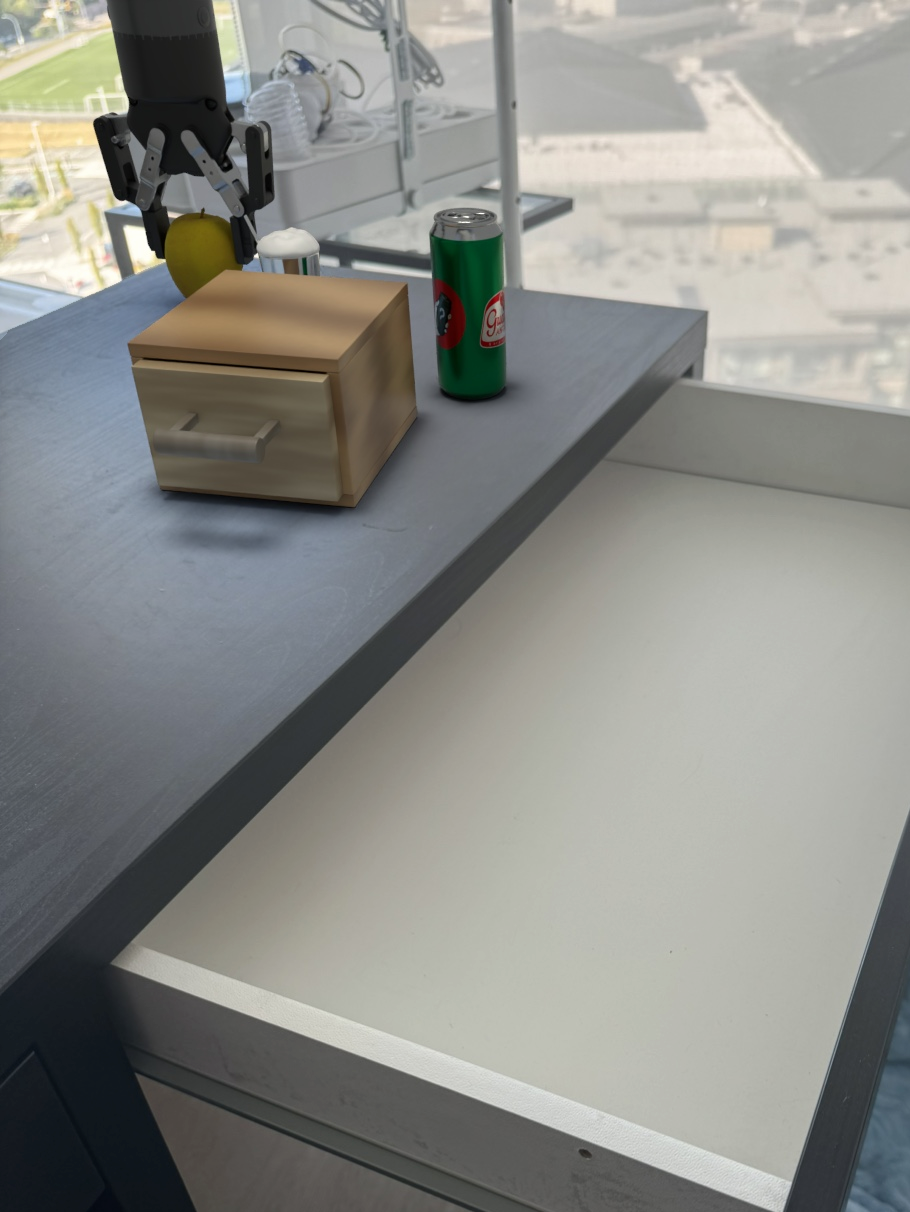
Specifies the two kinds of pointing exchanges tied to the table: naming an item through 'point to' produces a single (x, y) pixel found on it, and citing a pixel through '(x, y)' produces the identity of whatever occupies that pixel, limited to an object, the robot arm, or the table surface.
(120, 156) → the robot arm
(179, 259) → the apple
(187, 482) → the drawer
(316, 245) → the milkshake
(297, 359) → the cabinet
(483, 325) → the soda can
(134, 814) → the table surface
